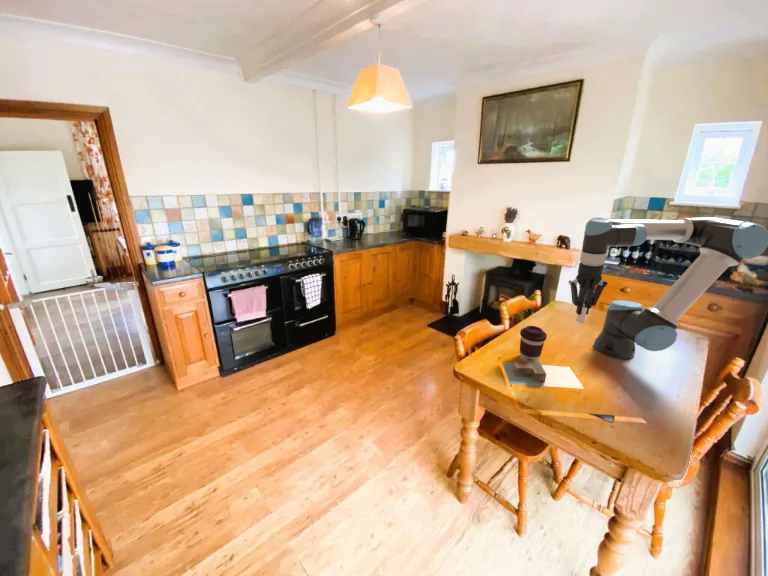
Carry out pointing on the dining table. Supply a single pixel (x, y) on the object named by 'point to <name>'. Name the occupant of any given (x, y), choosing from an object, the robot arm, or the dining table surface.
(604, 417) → the smartphone
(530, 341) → the coffee cup
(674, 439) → the dining table surface
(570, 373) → the board
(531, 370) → the t block
